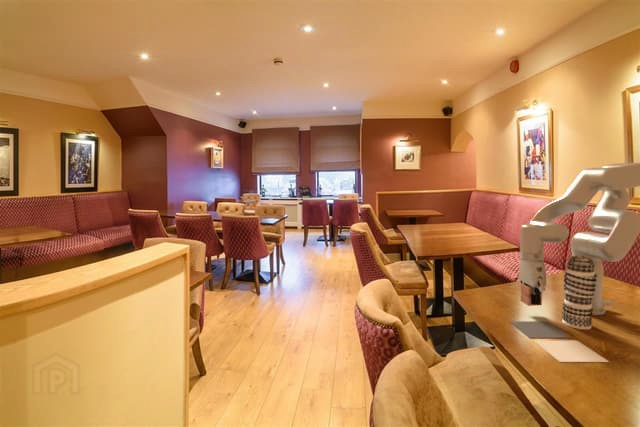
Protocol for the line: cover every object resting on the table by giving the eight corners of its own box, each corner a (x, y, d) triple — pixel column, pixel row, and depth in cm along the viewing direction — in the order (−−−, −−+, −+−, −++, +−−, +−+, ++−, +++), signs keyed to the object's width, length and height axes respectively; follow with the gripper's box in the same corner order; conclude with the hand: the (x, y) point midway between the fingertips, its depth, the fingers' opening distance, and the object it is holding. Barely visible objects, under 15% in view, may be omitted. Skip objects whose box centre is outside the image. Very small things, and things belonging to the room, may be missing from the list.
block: (533, 300, 127) (533, 283, 126) (541, 305, 122) (541, 287, 121) (520, 300, 127) (520, 283, 126) (528, 305, 122) (528, 288, 121)
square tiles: (547, 321, 118) (547, 321, 118) (609, 362, 92) (609, 361, 92) (509, 322, 118) (509, 321, 118) (559, 362, 92) (559, 361, 92)
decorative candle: (595, 332, 109) (601, 262, 106) (562, 326, 114) (566, 258, 111) (590, 322, 117) (595, 256, 114) (559, 316, 122) (563, 253, 119)
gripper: (557, 261, 113) (556, 309, 116) (527, 250, 130) (527, 292, 132) (535, 262, 114) (535, 310, 116) (509, 251, 131) (509, 293, 133)
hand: (530, 300), depth 124 cm, fingers closed on block, 5 cm apart
